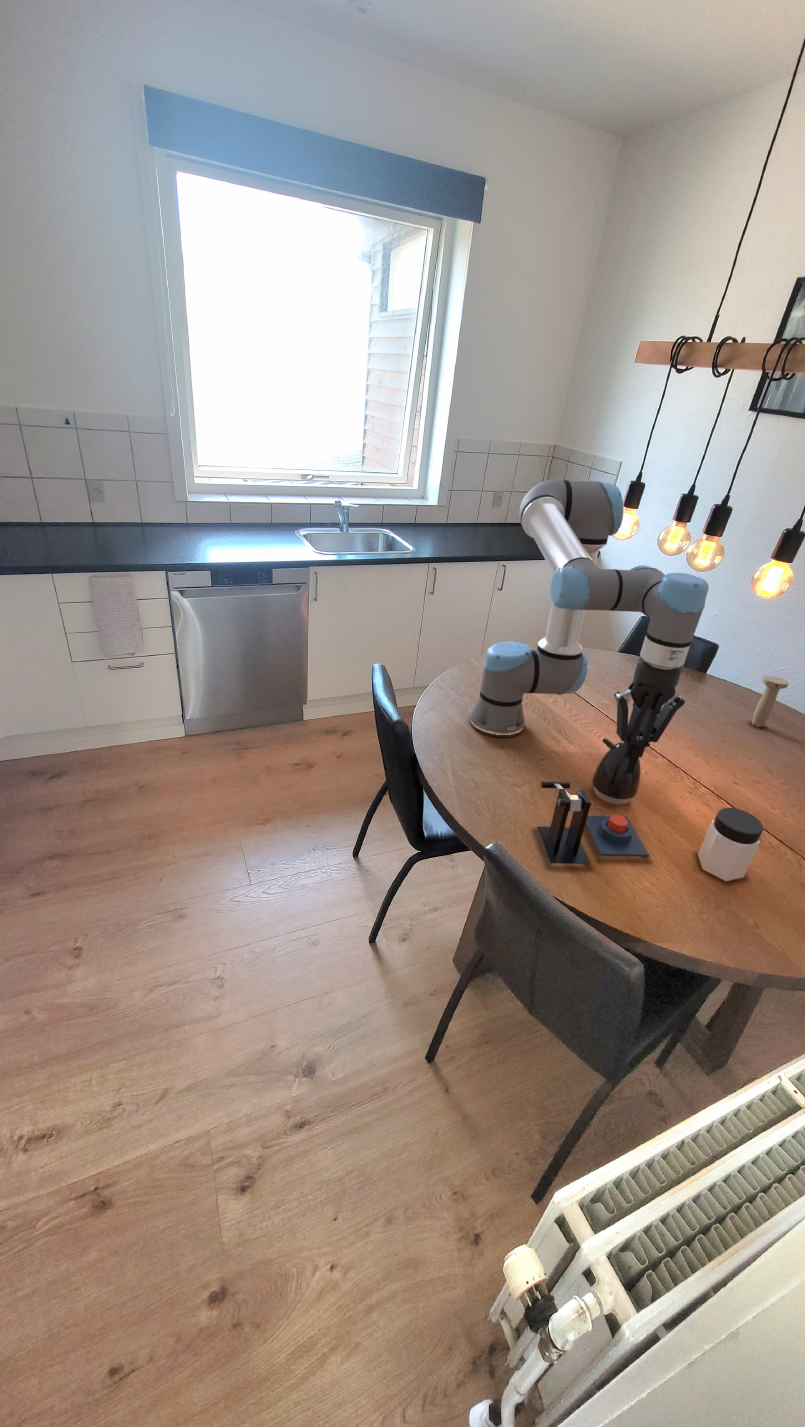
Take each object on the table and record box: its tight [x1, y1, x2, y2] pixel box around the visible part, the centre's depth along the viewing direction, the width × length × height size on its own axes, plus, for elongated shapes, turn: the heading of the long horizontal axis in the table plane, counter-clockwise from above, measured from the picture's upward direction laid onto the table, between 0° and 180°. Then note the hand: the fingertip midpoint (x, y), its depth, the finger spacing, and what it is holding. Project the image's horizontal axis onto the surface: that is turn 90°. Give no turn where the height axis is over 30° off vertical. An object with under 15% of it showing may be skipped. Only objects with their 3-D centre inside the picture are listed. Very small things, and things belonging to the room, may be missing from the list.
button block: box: [585, 815, 650, 857], centre depth 123 cm, size 12×10×4 cm
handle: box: [751, 675, 790, 728], centre depth 171 cm, size 5×6×15 cm
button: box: [608, 814, 628, 833], centre depth 122 cm, size 4×4×2 cm
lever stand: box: [536, 788, 592, 865], centre depth 117 cm, size 11×8×14 cm
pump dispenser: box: [591, 737, 641, 806], centre depth 134 cm, size 10×10×15 cm
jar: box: [697, 807, 764, 882], centre depth 117 cm, size 9×8×12 cm
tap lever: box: [540, 780, 582, 812], centre depth 120 cm, size 13×6×2 cm, turn 2°
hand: (627, 769), depth 117 cm, fingers closed
